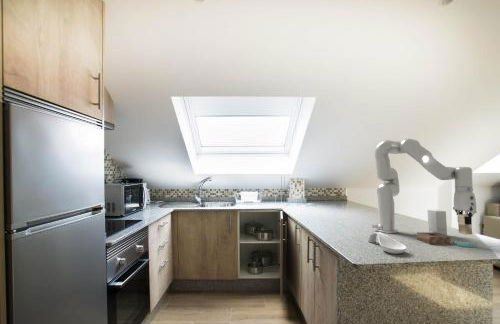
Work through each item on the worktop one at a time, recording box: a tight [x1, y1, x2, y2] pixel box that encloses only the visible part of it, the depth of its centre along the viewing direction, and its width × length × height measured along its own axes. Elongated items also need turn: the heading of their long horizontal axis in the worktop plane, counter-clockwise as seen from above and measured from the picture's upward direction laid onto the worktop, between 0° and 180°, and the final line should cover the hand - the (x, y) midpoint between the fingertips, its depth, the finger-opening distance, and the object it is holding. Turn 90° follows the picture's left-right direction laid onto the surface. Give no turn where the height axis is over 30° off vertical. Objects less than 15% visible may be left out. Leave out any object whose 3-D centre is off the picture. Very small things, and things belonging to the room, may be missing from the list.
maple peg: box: [457, 213, 473, 235], centre depth 142 cm, size 4×4×10 cm
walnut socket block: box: [416, 231, 452, 245], centre depth 148 cm, size 12×10×4 cm
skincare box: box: [427, 209, 448, 236], centre depth 163 cm, size 8×7×16 cm
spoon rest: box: [367, 231, 408, 255], centre depth 136 cm, size 24×12×7 cm, turn 8°
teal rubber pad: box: [453, 240, 476, 249], centre depth 142 cm, size 9×9×1 cm
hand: (464, 223), depth 142 cm, fingers closed on maple peg, 4 cm apart
